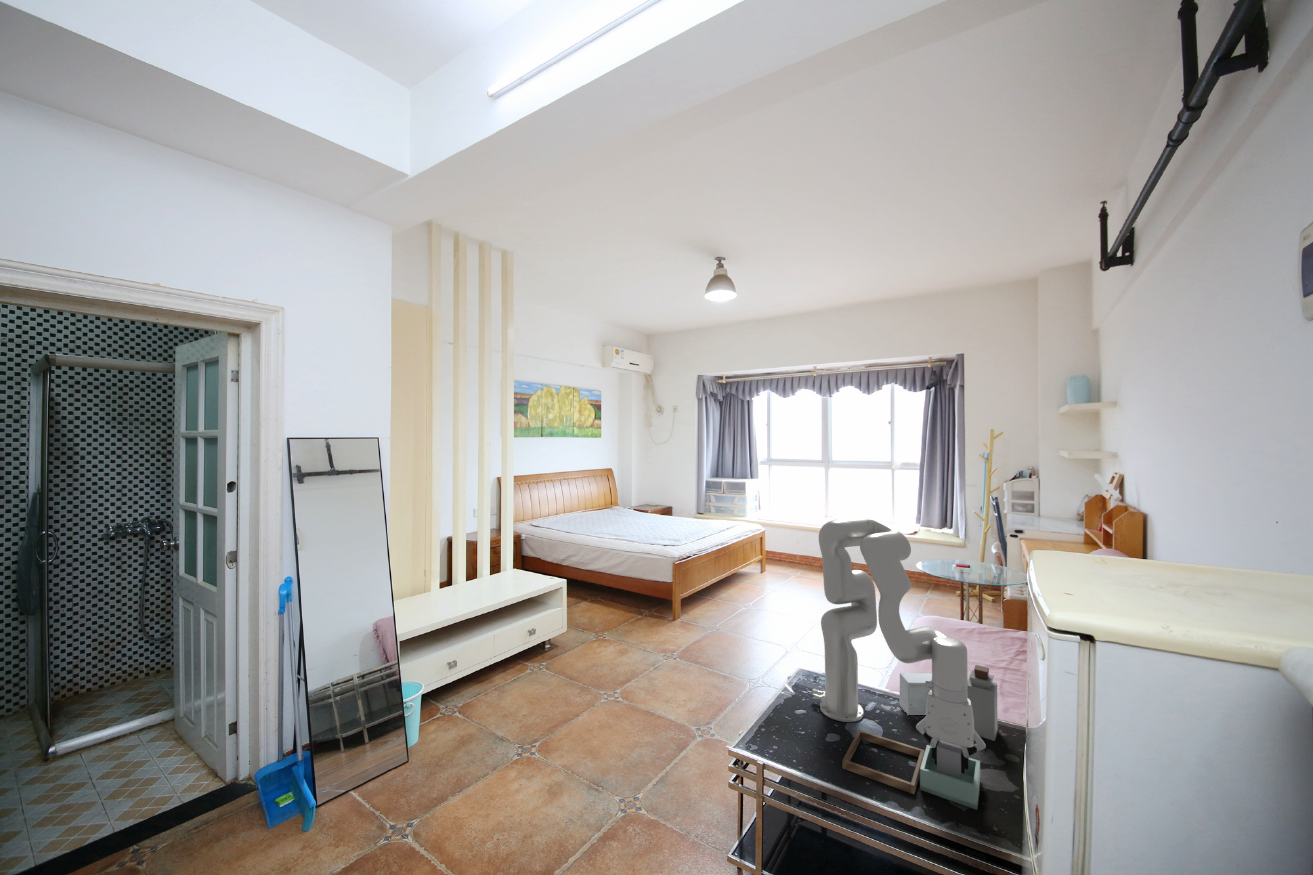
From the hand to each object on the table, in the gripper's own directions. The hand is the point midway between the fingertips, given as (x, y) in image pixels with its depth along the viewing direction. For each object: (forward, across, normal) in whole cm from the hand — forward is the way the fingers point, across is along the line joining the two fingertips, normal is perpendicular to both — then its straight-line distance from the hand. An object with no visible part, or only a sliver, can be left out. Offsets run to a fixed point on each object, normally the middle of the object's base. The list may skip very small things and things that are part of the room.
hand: (949, 765), depth 123 cm
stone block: (+1, 0, 0) cm, 1 cm away
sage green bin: (+5, 0, 0) cm, 5 cm away
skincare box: (+5, -11, +33) cm, 35 cm away
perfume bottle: (+5, +5, +31) cm, 32 cm away
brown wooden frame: (+5, -15, 0) cm, 16 cm away
